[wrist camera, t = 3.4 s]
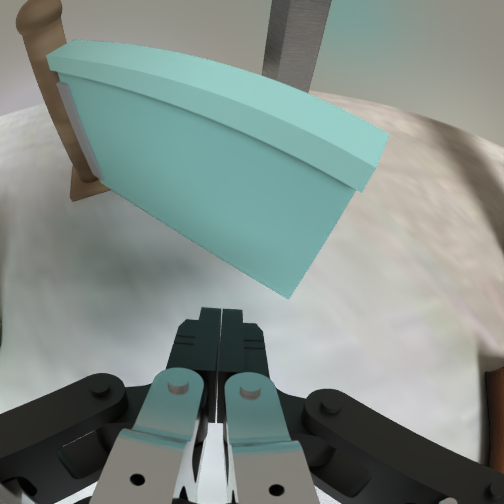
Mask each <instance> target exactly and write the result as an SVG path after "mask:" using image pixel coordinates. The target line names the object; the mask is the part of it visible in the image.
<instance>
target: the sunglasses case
mask: <svg viewBox="0 0 504 504" xmlns="http://www.w3.org/2000/svg"><path fill="white" fill-rule="evenodd" d="M486 374H487V377H486V388H487V398H488V407H489V421H490V445H491V452H490V459H489V468H491V469H494V470H496V471H498V472H501V473H503V474H504V367H502V368H499V369H497V370H495V371H490V372H486Z"/></svg>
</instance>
